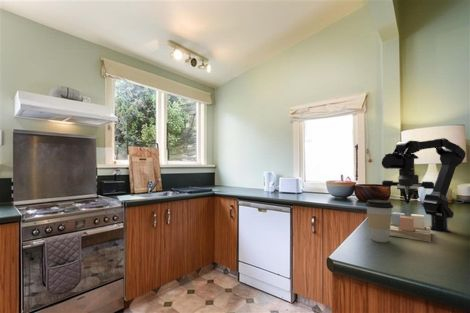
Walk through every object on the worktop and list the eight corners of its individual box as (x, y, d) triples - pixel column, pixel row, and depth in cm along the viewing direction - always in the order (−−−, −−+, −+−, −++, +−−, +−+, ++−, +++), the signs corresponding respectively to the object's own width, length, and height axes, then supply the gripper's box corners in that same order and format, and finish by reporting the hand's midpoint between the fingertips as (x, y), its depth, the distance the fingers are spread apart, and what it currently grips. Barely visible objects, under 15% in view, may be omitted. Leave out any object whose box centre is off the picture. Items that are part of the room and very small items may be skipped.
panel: (389, 227, 113) (388, 222, 113) (430, 232, 104) (429, 227, 104) (384, 234, 101) (384, 228, 101) (430, 241, 91) (430, 235, 91)
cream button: (411, 225, 106) (411, 213, 107) (424, 226, 104) (424, 215, 104) (411, 227, 103) (410, 215, 103) (424, 228, 100) (424, 216, 100)
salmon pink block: (400, 227, 102) (400, 215, 103) (413, 229, 100) (413, 217, 100) (399, 229, 99) (399, 217, 99) (413, 231, 96) (413, 218, 96)
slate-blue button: (392, 223, 111) (392, 212, 111) (404, 224, 108) (404, 213, 108) (391, 224, 107) (391, 213, 108) (404, 226, 104) (403, 214, 105)
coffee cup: (368, 235, 100) (367, 198, 100) (395, 239, 94) (394, 200, 94) (363, 240, 92) (362, 201, 93) (392, 245, 86) (391, 203, 87)
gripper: (380, 168, 108) (380, 203, 107) (434, 169, 96) (435, 208, 95) (383, 168, 116) (384, 201, 116) (433, 169, 105) (434, 205, 104)
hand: (407, 203), depth 108 cm, fingers closed
